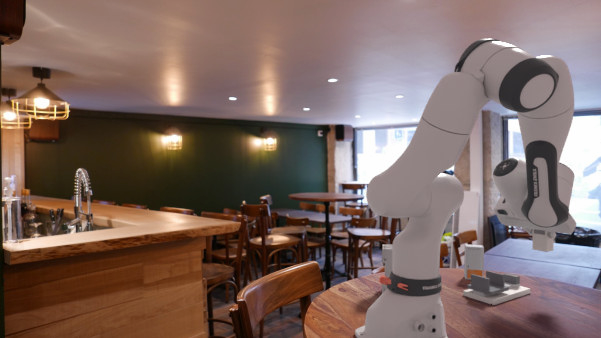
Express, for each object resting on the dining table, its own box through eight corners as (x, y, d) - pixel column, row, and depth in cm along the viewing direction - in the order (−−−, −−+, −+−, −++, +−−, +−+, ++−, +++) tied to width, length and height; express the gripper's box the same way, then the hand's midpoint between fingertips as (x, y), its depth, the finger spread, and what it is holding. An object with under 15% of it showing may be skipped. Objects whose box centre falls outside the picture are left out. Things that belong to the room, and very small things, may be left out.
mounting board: (493, 305, 111) (493, 300, 111) (463, 295, 120) (463, 290, 120) (530, 293, 122) (530, 288, 122) (499, 284, 130) (499, 280, 130)
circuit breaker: (430, 300, 115) (430, 250, 115) (382, 297, 118) (382, 248, 118) (427, 292, 122) (427, 245, 122) (381, 289, 125) (381, 244, 125)
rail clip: (490, 299, 112) (490, 280, 112) (466, 291, 119) (466, 273, 119) (527, 287, 123) (527, 270, 122) (502, 281, 129) (502, 265, 129)
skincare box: (465, 279, 136) (465, 246, 136) (464, 276, 140) (464, 243, 140) (484, 281, 134) (484, 247, 134) (482, 278, 138) (482, 244, 138)
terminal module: (546, 252, 113) (546, 224, 113) (532, 249, 116) (532, 223, 116) (553, 250, 115) (553, 223, 115) (539, 247, 119) (539, 222, 119)
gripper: (570, 199, 103) (586, 232, 108) (496, 194, 120) (513, 223, 126) (562, 217, 101) (578, 250, 106) (488, 209, 118) (506, 238, 123)
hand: (543, 235), depth 116 cm, fingers closed on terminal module, 4 cm apart
